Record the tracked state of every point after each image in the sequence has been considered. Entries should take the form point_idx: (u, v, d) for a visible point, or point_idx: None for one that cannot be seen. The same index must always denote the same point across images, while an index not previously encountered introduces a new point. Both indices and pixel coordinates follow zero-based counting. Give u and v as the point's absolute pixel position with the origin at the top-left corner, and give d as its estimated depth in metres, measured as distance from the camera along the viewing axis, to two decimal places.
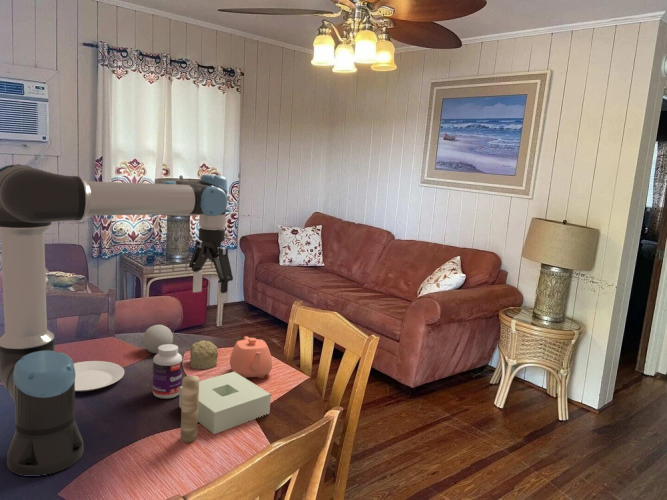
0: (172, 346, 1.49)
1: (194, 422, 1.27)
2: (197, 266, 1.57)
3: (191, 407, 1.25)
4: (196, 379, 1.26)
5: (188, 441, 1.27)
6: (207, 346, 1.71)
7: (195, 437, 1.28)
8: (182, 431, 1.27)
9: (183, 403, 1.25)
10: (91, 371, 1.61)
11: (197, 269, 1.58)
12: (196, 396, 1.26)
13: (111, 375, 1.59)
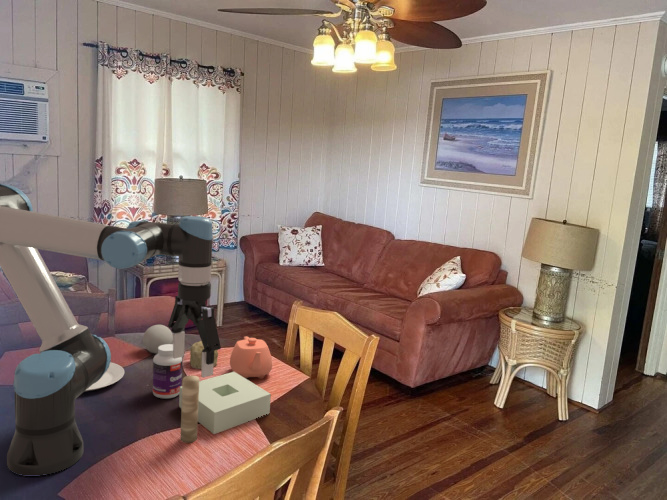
0: (172, 346, 1.49)
1: (194, 422, 1.27)
2: (178, 327, 1.27)
3: (191, 407, 1.25)
4: (196, 379, 1.26)
5: (188, 441, 1.27)
6: None
7: (195, 437, 1.28)
8: (182, 431, 1.27)
9: (183, 403, 1.25)
10: None
11: (178, 330, 1.29)
12: (196, 396, 1.26)
13: (111, 375, 1.59)
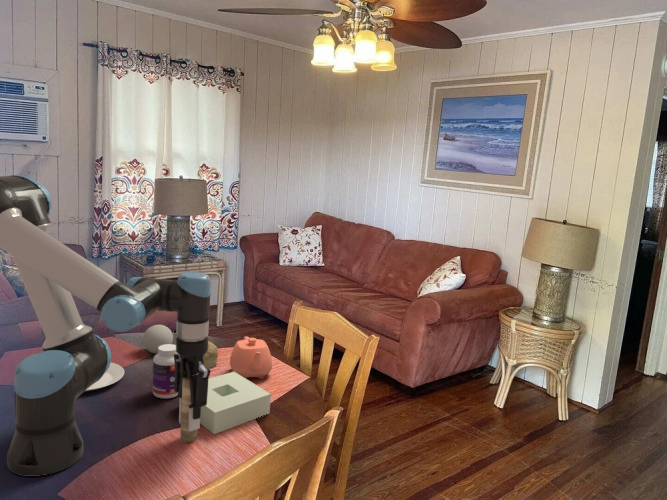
0: (172, 346, 1.49)
1: None
2: None
3: None
4: None
5: (188, 441, 1.27)
6: None
7: (195, 437, 1.28)
8: (182, 431, 1.27)
9: (183, 403, 1.25)
10: None
11: None
12: None
13: (111, 375, 1.59)
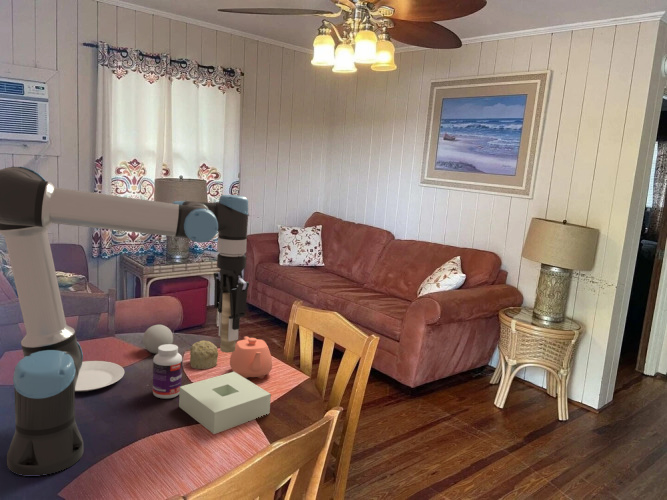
0: (172, 346, 1.49)
1: None
2: None
3: None
4: None
5: (228, 351, 1.39)
6: (207, 346, 1.71)
7: (234, 348, 1.40)
8: (222, 342, 1.39)
9: (223, 315, 1.37)
10: (91, 371, 1.61)
11: None
12: None
13: (111, 375, 1.59)
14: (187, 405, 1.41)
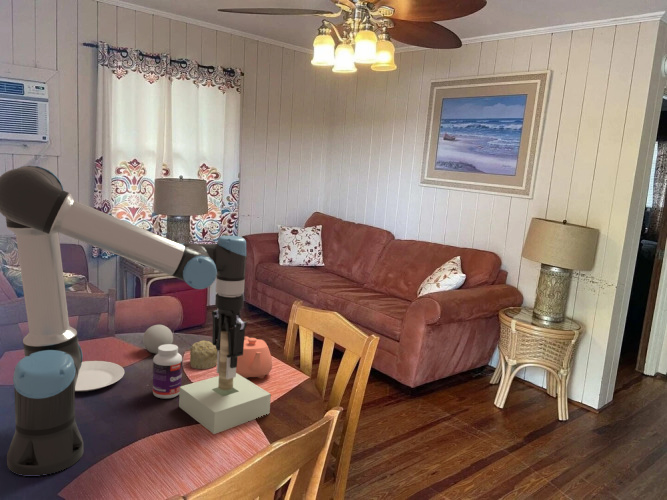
0: (172, 346, 1.49)
1: None
2: None
3: None
4: None
5: (225, 388, 1.41)
6: (207, 346, 1.71)
7: (231, 385, 1.42)
8: (220, 379, 1.41)
9: (221, 353, 1.40)
10: (91, 371, 1.61)
11: None
12: None
13: (111, 375, 1.59)
14: (187, 405, 1.41)
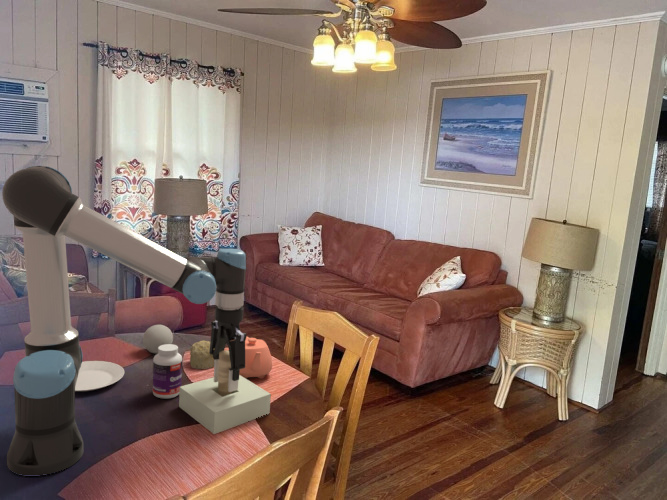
0: (172, 346, 1.49)
1: None
2: (218, 352, 1.43)
3: (227, 378, 1.41)
4: None
5: None
6: (207, 346, 1.71)
7: None
8: None
9: (220, 374, 1.41)
10: (91, 371, 1.61)
11: (218, 356, 1.44)
12: None
13: (111, 375, 1.59)
14: (187, 405, 1.41)
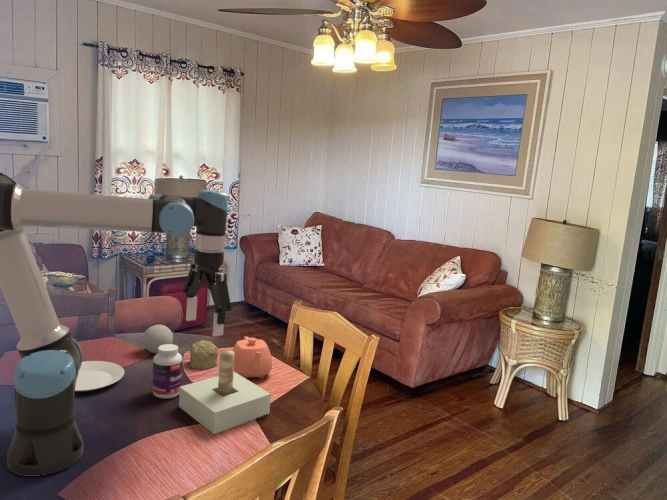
0: (172, 346, 1.49)
1: (230, 391, 1.42)
2: (192, 292, 1.40)
3: (227, 378, 1.41)
4: (231, 353, 1.41)
5: None
6: (207, 346, 1.71)
7: None
8: None
9: (220, 374, 1.41)
10: (91, 371, 1.61)
11: (192, 295, 1.41)
12: (232, 368, 1.41)
13: (111, 375, 1.59)
14: (187, 405, 1.41)
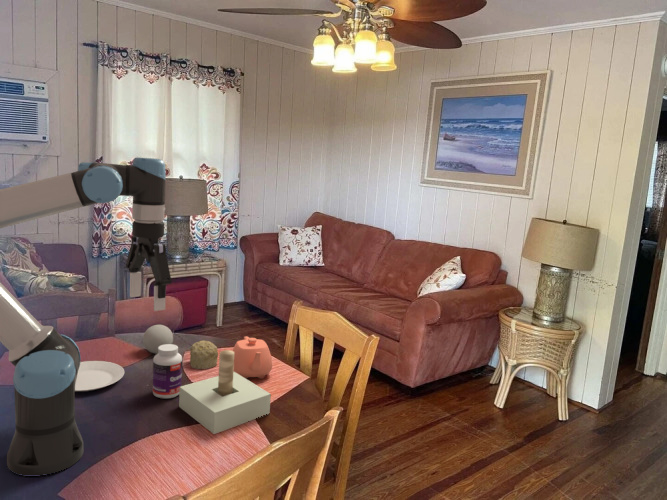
0: (172, 346, 1.49)
1: (230, 391, 1.42)
2: (134, 266, 1.33)
3: (227, 378, 1.41)
4: (231, 353, 1.41)
5: None
6: (207, 346, 1.71)
7: None
8: None
9: (220, 374, 1.41)
10: (91, 371, 1.61)
11: (135, 270, 1.35)
12: (232, 368, 1.41)
13: (111, 375, 1.59)
14: (187, 405, 1.41)
